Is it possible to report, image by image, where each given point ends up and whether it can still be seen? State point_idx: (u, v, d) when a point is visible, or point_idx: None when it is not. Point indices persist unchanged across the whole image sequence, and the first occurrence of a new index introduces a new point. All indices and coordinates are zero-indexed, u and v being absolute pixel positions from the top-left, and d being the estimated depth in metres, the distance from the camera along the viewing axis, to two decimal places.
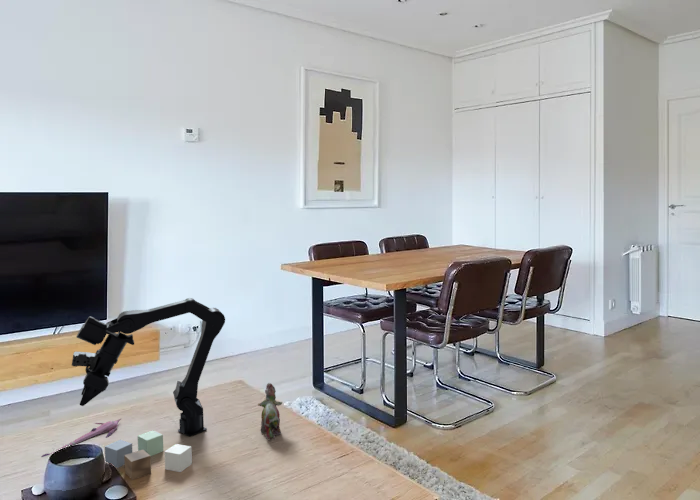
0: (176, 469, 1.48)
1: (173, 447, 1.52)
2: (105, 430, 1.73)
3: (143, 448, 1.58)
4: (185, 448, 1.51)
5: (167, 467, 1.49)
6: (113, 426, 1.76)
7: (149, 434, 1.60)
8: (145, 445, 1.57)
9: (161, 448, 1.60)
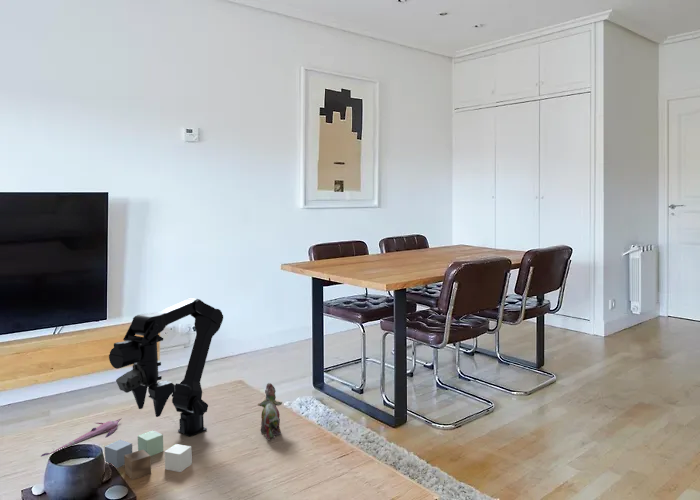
0: (176, 469, 1.48)
1: (173, 447, 1.52)
2: (105, 430, 1.74)
3: (143, 448, 1.58)
4: (185, 448, 1.51)
5: (167, 467, 1.49)
6: (113, 426, 1.76)
7: (149, 434, 1.60)
8: (145, 445, 1.57)
9: (161, 448, 1.60)
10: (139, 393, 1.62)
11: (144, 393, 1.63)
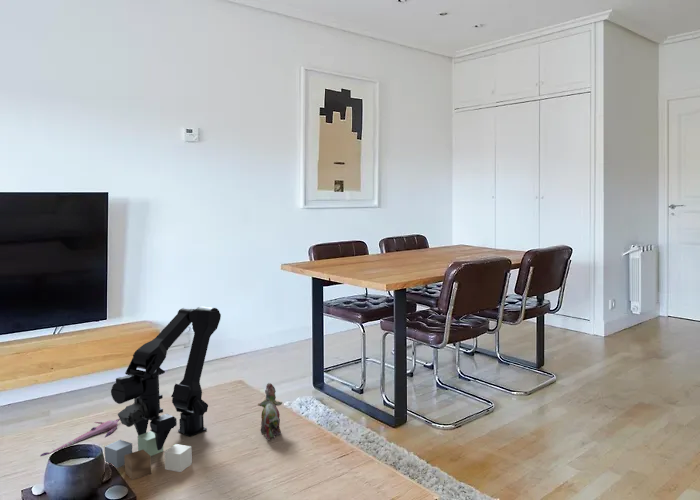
0: (176, 469, 1.48)
1: (173, 447, 1.52)
2: (105, 429, 1.74)
3: (143, 448, 1.58)
4: (185, 448, 1.51)
5: (167, 467, 1.49)
6: (113, 425, 1.76)
7: (149, 434, 1.60)
8: (145, 445, 1.57)
9: None
10: (140, 425, 1.63)
11: (145, 425, 1.64)
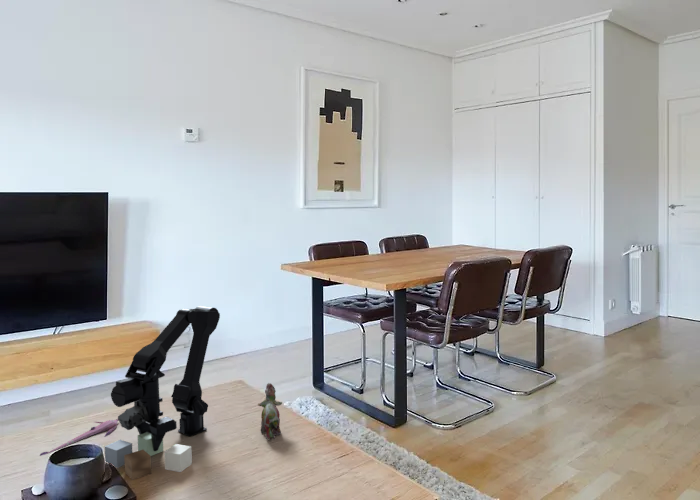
0: (176, 469, 1.48)
1: (173, 447, 1.52)
2: (104, 429, 1.74)
3: (143, 448, 1.58)
4: (185, 448, 1.51)
5: (167, 467, 1.49)
6: (112, 425, 1.77)
7: (149, 434, 1.60)
8: (145, 444, 1.57)
9: (161, 448, 1.60)
10: (144, 430, 1.62)
11: (149, 430, 1.63)
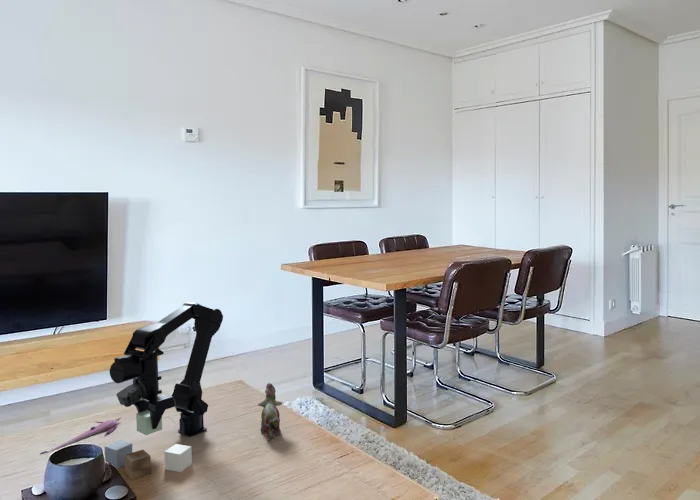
0: (176, 469, 1.48)
1: (173, 447, 1.52)
2: (104, 429, 1.75)
3: (142, 426, 1.57)
4: (185, 448, 1.51)
5: (167, 467, 1.49)
6: (112, 425, 1.77)
7: (148, 412, 1.60)
8: (144, 422, 1.56)
9: (160, 426, 1.59)
10: (143, 408, 1.61)
11: None
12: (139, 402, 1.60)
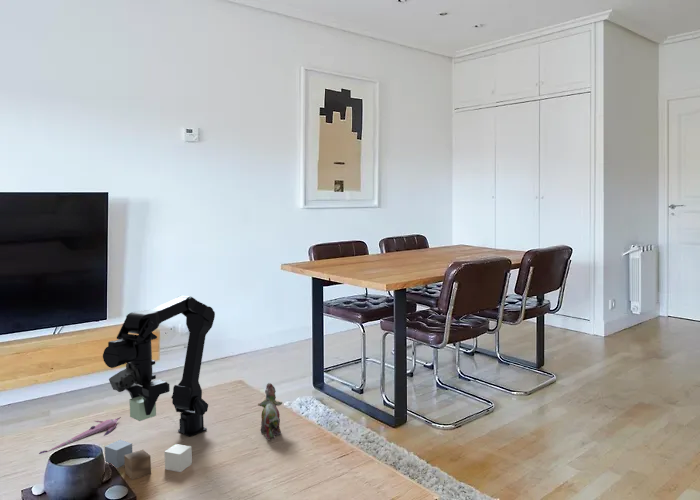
0: (176, 469, 1.48)
1: (173, 447, 1.52)
2: (104, 428, 1.75)
3: (135, 412, 1.53)
4: (185, 448, 1.51)
5: (167, 467, 1.49)
6: (112, 424, 1.77)
7: (141, 398, 1.56)
8: (137, 408, 1.52)
9: (154, 412, 1.55)
10: (136, 394, 1.57)
11: None
12: (132, 388, 1.56)
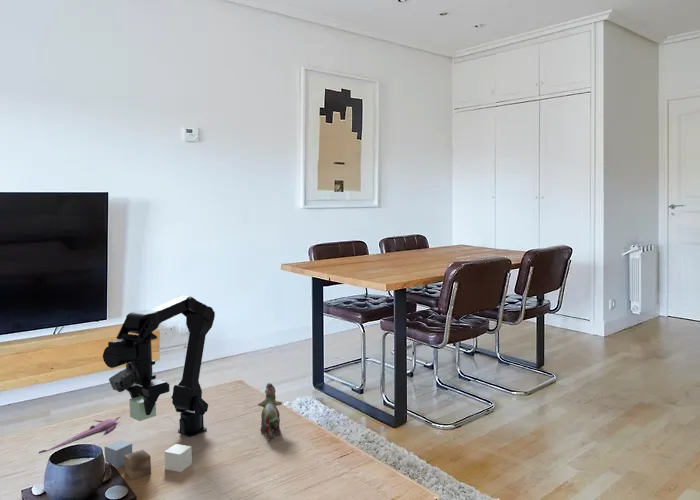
0: (176, 469, 1.48)
1: (173, 447, 1.52)
2: (103, 428, 1.75)
3: (135, 412, 1.53)
4: (185, 448, 1.51)
5: (167, 467, 1.49)
6: (112, 424, 1.78)
7: (141, 398, 1.56)
8: (137, 408, 1.52)
9: (154, 412, 1.55)
10: (136, 394, 1.57)
11: None
12: (132, 388, 1.56)
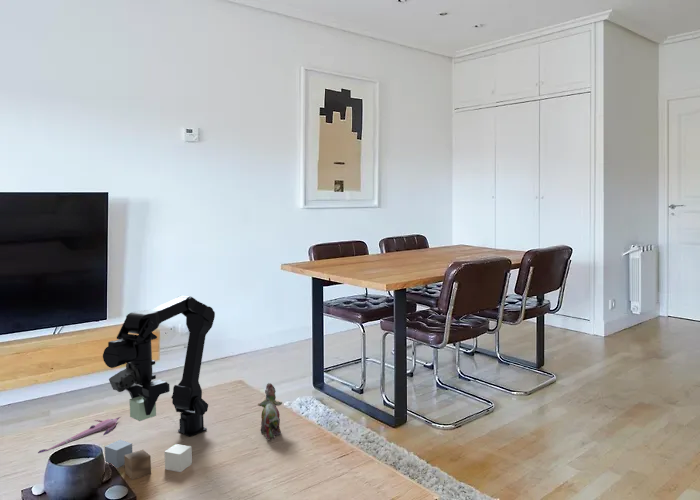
0: (176, 469, 1.48)
1: (173, 447, 1.52)
2: (103, 428, 1.75)
3: (135, 412, 1.53)
4: (185, 448, 1.51)
5: (167, 467, 1.49)
6: (112, 424, 1.78)
7: (141, 398, 1.56)
8: (137, 408, 1.52)
9: (154, 412, 1.55)
10: (136, 394, 1.57)
11: None
12: (132, 388, 1.56)
